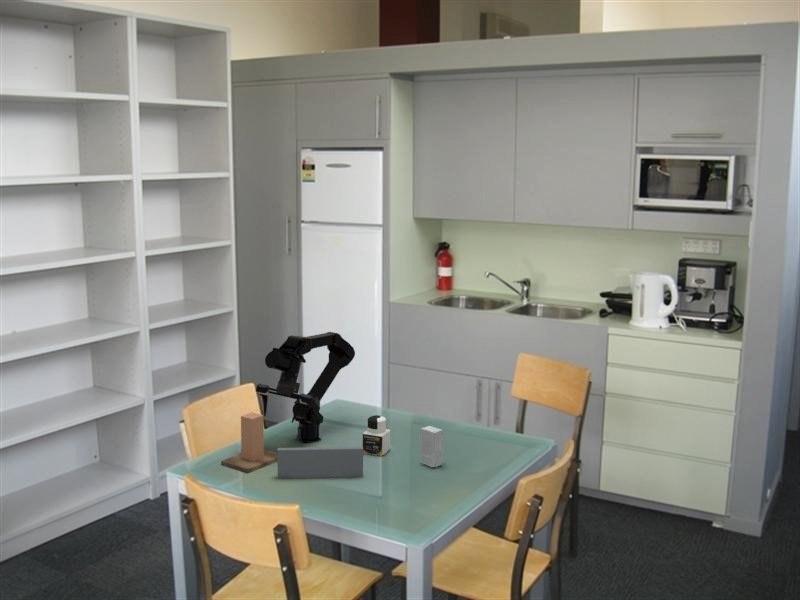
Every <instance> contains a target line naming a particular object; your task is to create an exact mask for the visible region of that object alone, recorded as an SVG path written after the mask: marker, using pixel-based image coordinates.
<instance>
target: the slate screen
mask: <svg viewBox="0 0 800 600" xmlns="http://www.w3.org/2000/svg"><path fill="white" fill-rule="evenodd" d="M276 453H277V463H276V464H277V479H314V478H315V479H317V478H318V479H319V478H325V477H326V478H362V477H361V476H363V477H364V453H363V446H325V447H324V446H322V447H320V446H318V447H316V446H315V447H309V446H308V447H277V451H276Z"/></svg>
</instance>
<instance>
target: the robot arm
mask: <svg viewBox="0 0 800 600" xmlns="http://www.w3.org/2000/svg"><path fill="white" fill-rule="evenodd" d="M322 347H326V348H327V351H329V353H328V362H327V363H326V365H325V367H324V368H323V369H322V371H321V373H320V375H319V376H318V377H317V379H316V381H315V382H314V383H313V385H312V387H311V388H310V390H309V391H308V393H306V394H305V393H300V394H298V393H299V391H300V386H301V382H298V377H299V374H300V369H301V365H302V363H304V364H305V363H306V362H307V361H306V359H305V357H304V355H306V354H308V353H310V352H311V351H312V350H313V349H317V348H322ZM355 355H356V351H355V348H354V347H353V346H352V345H351V344H350V343H349V342H348V341H347V340H345V338H343V336H342V335H341V334H340V333H337V332H332V331H327V332H324V333H319V334H315V335H308V336H301V335H289V336H287V339H286V340H285V341H284V342H283V343H282V344H281V345H280V346H279V348H278V347H277V348H276V347H272V350H271V351H269V352H268V353H267V355H266V356H265V359H264V363H265V366H266V367H267V368H269V369H272V370H276V371H280V376H279V380H278V382H277V386H276V388H272V387H271V385H266V384H262V383H258V384H257V385H256V388H255V392H256V393H257V392H258V395H259V396H261V399H262V404H263V418H265V417H266V415H267V411H268V403H269V397H270V396H269V394H271V395H276V396H280V397H285V398H289V399H292V400H293V399H294V400H295V401H294V403H293V406H292V413H293V414H292V415H293V416H292V420H291V423H292V424H293V423H294V422H298V426H297V436H296V438H297V439H298V440H299V441H301V442H302V443H304V444H305V443H306V444H307V443H312V442H316V441H321V440H322V438H321V437H320V425H321V424H322V423H323V422H324V416H323V414H322V413H321V412H320V410H321V401H322V399H323V397H324V395H325V394H326V393H327V391H328V390H329V387H330V386H331V385H332V384H333V381H335V379H336V377H337V375H338V374H339V373H340V371H341V370H342V369H344V368H345V367H347V366H349V365H350V363H351V362H352V361H353V360H354V358H355Z"/></svg>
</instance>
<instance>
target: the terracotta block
mask: <svg viewBox="0 0 800 600" xmlns="http://www.w3.org/2000/svg"><path fill="white" fill-rule="evenodd" d="M264 425H265V424H264V414H259V413H256V412H253V411H252V412H249V413H247V414H243V415H240V447H241V449H240V450H241V457H242V458H243V459H246V460H249V461H252V462H253V461H256V460H258V459H261V458H263V457H264V449H265V447H264V446H265V445H264V444H265V440H264V439H265V436H264V435H265V433H264V431H265V430H264Z"/></svg>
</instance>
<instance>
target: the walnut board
mask: <svg viewBox="0 0 800 600" xmlns="http://www.w3.org/2000/svg"><path fill="white" fill-rule="evenodd" d="M276 462H277V452H274V451H271V450H269V449H266V448H264V457H263V458H261V459H258V460H256V461H253V462H252V461H249V460H246V459H243V458H242V457H241V453H238V454H236V455H233V456H230V457H227V458H225V459H222V460H221V461H220V465H221V464H223V465H222V466H224V465H226V466H225V467H228V466H229V467H228V468H231V467H232V468H231V469H235V470H237V471H240V472H243V473H246V474H249V473H252V472H254V471H257V470H260V469H262V468H265V467H267V466H269V465H271V464H274V463H276Z"/></svg>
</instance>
